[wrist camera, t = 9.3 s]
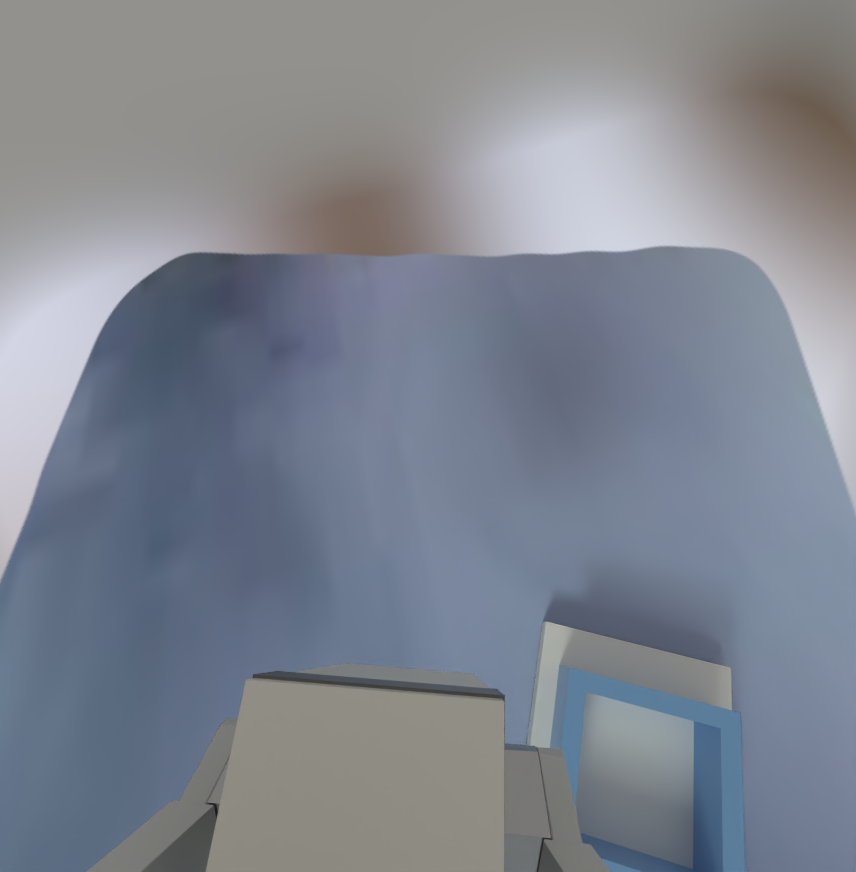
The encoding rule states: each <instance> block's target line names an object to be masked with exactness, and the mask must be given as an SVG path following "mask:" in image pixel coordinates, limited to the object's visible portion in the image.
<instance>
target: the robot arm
mask: <svg viewBox="0 0 856 872" xmlns="http://www.w3.org/2000/svg"><path fill="white" fill-rule="evenodd" d="M237 720H238V719H231V718H227V719H226V720H225V721H224V722H223V723H222V724H221V725H220V726H219V728H218V730H217V732H216V734H215V736H214V738H213V739H212V741H211V743H210V745H209V747H208V749H207V750H206V752H205V754H204V756H203V758H202V760H201V762H200V763H199V765H198V767H197V769H196V771H195V773H194V774H193V776H192V778H191V780H190V782H189V784H188V786H187V787H186V789H185V791H184V793H183V795H182V797H181V798H180V800H179V801H171V802H170V803H168V804H167V805H166V806H165V807H164V808H162V809H161V810H160V811H159V812H158V813H156V814H155V815H154V816H153V817H152V818H150V819H149V820H148V821H147V822H146V823H144V824H143V825H142V826H141V827H140V828H138V829H137V830H136V831H135V832H134V833H132V834H131V835H130V836H129V837H128V838H126V839H125V840H124V841H123V842H122V843H120V844H119V845H118V846H117V847H116V848H114V849H113V850H112V851H111V852H110V853H108V854H107V855H106V856H105V857H104V858H102V859H101V860H100V861H99V862H97V863H96V864H95V865H94V866H93V867H91V868H90V869H89V870H88V871H87V872H206V867H207V863H208V858H209V853H210V848H211V844H212V839H213V834H214V829H215V825H216V820H217V815H218V811H219V806H220V801H221V796H222V792H223V787H224V782H225V777H226V773H227V768H228V763H229V758H230V754H231V749H232V744H233V739H234V735H235V730H236V725H237ZM505 872H610V870H609V869H608V868H607V866H606V865H605V863H604V862H603V861H602V859H601V858H600V857H599V855H598V854H597V852H596V851H595V850H594V848H593V847H592V845H591V844H586V843H583V842H582V837H581V833H580V828H579V823H578V818H577V813H576V809H575V804H574V799H573V794H572V790H571V785H570V780H569V775H568V770H567V766H566V761H565V756H564V754H563V752H562V750H561V749H559V748H544V747H535V746H531V745H517V744H505Z"/></svg>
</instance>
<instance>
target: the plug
mask: <svg viewBox="0 0 856 872" xmlns="http://www.w3.org/2000/svg"><path fill="white" fill-rule="evenodd" d="M206 872H505V695H503V694H502V693H501V692H500V691H499V690H497V689H490V688H489V687H488V686H487V685H486V684H485V683H484V682H483V681H482V680H481V679H479V678H478V677H477V676H476V675H475V674H472V673H460V672H447V671H435V670H423V669H410V668H398V667H386V666H373V665H361V664H349V663H346V664H340V665H334V666H328V667H322V668H315V669H309V670H303V671H297V672H284V671H274V672H267V673H260V674H254V675H253V679H247V680H246V682H245V687H244V692H243V697H242V701H241V706H240V711H239V716H238V720H237V725H236V730H235V735H234V739H233V744H232V749H231V754H230V758H229V763H228V768H227V773H226V777H225V782H224V787H223V792H222V796H221V801H220V806H219V811H218V815H217V820H216V825H215V829H214V834H213V839H212V844H211V848H210V853H209V858H208V863H207V867H206Z"/></svg>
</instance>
